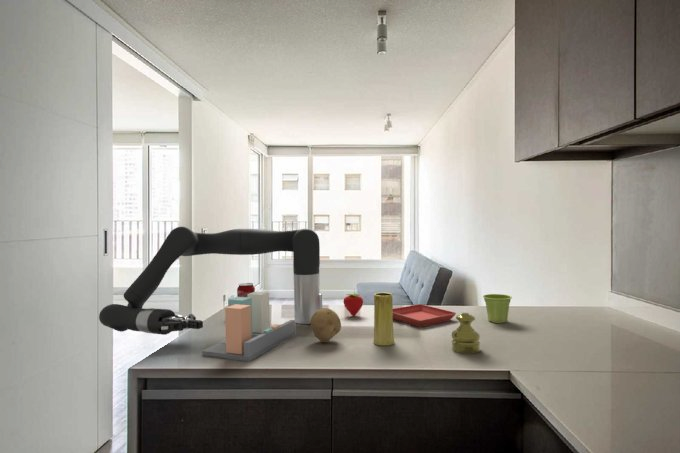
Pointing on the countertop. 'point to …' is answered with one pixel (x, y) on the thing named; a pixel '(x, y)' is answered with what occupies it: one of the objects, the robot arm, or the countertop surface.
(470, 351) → the olive glossy tiered piece
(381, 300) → the vase
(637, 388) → the countertop surface
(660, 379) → the countertop surface
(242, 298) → the key teal
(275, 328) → the grey divided tray
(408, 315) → the plant saucer
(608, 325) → the countertop surface
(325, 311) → the natural sponge
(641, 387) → the countertop surface
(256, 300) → the key cream
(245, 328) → the key terracotta
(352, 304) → the strawberry
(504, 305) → the plant pot
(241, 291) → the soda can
